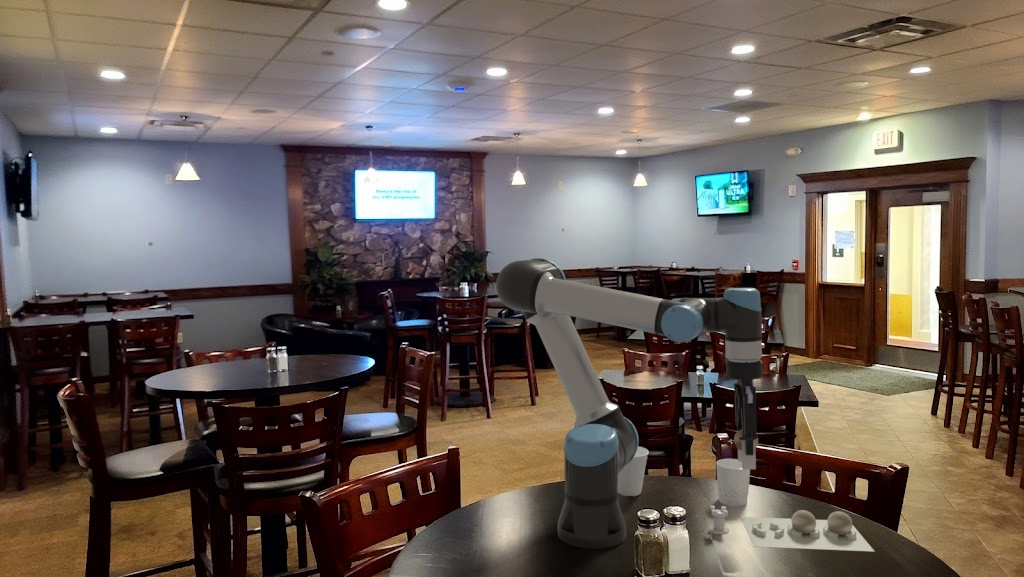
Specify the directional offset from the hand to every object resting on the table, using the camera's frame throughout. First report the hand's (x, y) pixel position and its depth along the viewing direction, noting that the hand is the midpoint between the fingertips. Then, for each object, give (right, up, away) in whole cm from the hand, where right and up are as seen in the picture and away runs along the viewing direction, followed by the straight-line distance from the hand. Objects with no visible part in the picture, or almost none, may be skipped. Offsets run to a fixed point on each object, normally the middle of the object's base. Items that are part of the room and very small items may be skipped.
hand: (746, 464), depth 159 cm
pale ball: (+20, -15, -1) cm, 25 cm away
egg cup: (-5, -16, +2) cm, 17 cm away
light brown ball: (0, +3, 0) cm, 3 cm away
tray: (+12, -16, 0) cm, 20 cm away
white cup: (+3, -14, +19) cm, 24 cm away
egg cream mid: (+12, -15, 0) cm, 19 cm away
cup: (-21, -14, +28) cm, 38 cm away
